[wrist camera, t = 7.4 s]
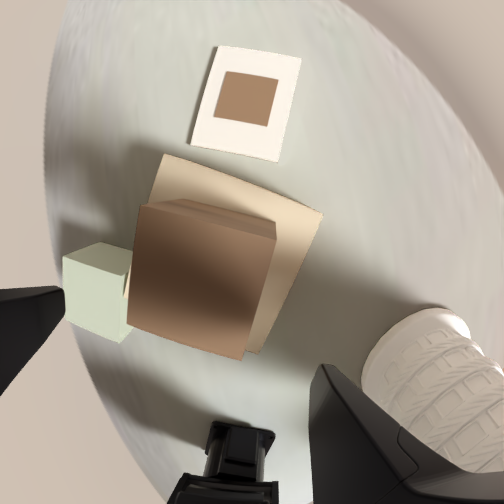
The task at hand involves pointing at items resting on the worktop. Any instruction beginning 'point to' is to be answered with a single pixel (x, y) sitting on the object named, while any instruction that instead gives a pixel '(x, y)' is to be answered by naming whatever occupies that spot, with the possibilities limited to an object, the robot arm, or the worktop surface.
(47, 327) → the robot arm
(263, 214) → the birch plinth
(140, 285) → the walnut cube
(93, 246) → the sage cube
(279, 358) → the worktop surface
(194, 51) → the worktop surface
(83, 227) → the worktop surface
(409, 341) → the decorative container
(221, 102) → the card
